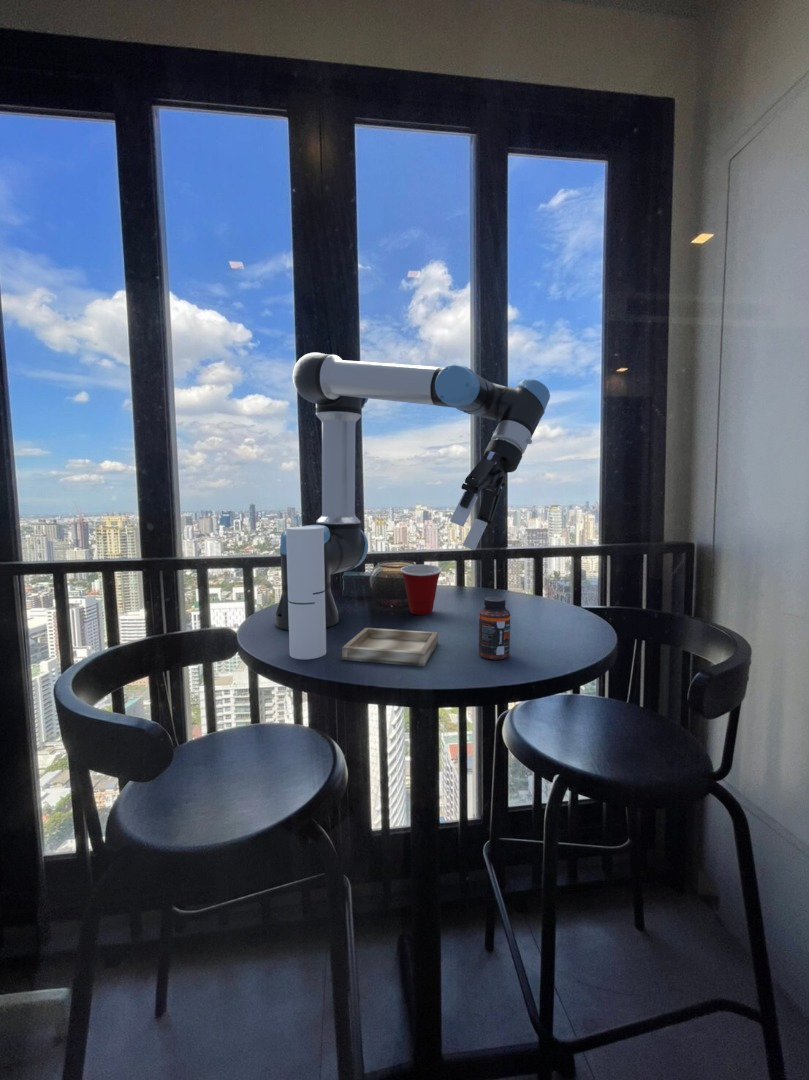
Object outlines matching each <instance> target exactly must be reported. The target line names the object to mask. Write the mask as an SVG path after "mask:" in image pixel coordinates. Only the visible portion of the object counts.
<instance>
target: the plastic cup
mask: <svg viewBox="0 0 809 1080" xmlns="http://www.w3.org/2000/svg"><path fill="white" fill-rule="evenodd" d="M400 572H401V573H402V577H403V581H404V585H405V592H406V596H407V601H408V609H409V612H410V614H412V615H416V616H417V615H418V616H426V615H431V614H432V613H433V610H434V604H435V599H436V593H437V589H438V582H439V578H440V574H441V572H442V567H440V566H437V565H432V564H411V565H405V566H403V567H401V568H400Z"/></svg>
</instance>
